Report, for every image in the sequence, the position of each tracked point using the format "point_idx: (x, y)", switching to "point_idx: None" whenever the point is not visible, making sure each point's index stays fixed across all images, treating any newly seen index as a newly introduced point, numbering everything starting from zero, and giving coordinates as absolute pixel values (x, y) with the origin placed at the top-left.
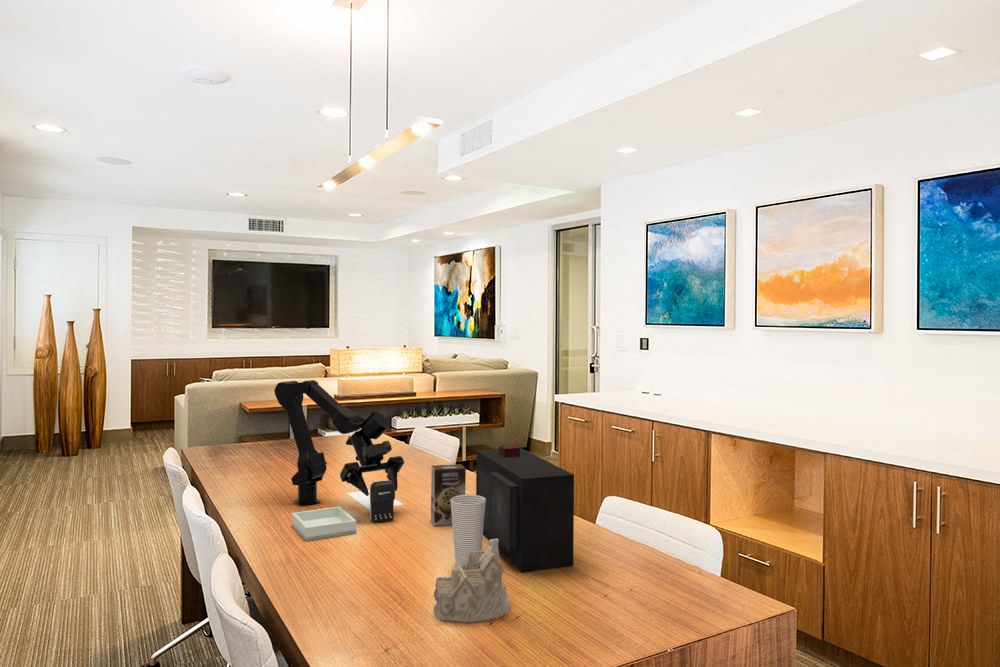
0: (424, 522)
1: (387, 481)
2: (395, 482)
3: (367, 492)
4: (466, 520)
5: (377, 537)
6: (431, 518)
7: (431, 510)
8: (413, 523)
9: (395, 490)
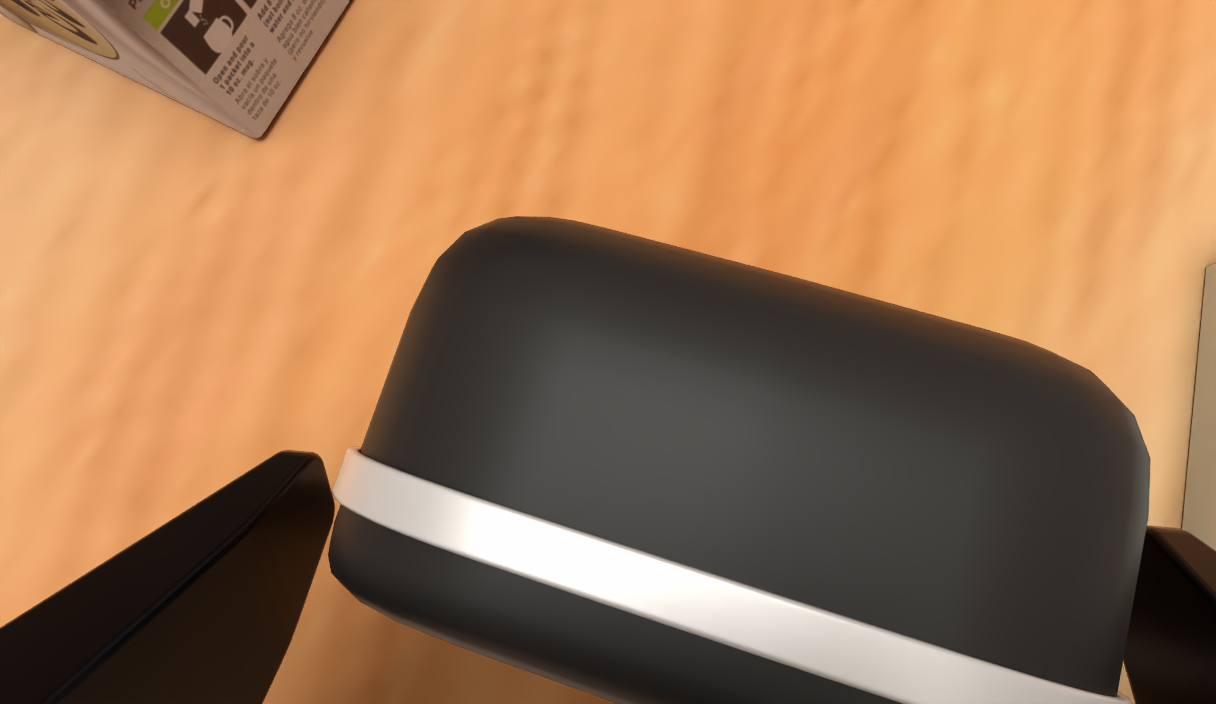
0: (362, 122)
1: (573, 397)
2: (174, 566)
3: (1211, 549)
4: None
5: (1056, 9)
6: (279, 66)
7: (218, 15)
8: (472, 167)
9: (330, 500)
